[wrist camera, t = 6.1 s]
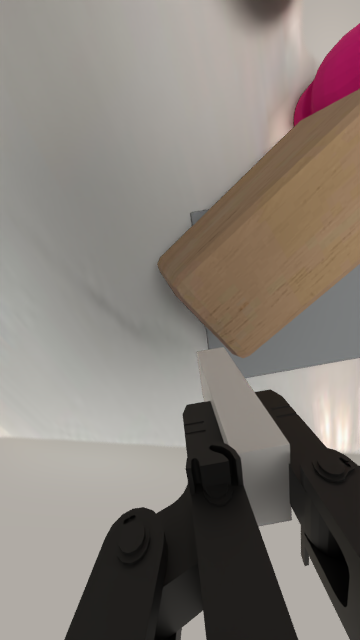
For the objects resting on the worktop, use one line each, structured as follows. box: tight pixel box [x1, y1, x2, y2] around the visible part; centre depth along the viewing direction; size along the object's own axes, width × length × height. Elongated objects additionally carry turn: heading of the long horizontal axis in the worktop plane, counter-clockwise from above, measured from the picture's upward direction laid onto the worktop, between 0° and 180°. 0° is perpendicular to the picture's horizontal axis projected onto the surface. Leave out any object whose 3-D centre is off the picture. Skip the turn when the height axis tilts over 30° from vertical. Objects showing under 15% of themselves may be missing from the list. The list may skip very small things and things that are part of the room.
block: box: [157, 89, 360, 358], centre depth 20 cm, size 10×10×20 cm
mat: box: [191, 210, 360, 378], centre depth 28 cm, size 22×22×1 cm
